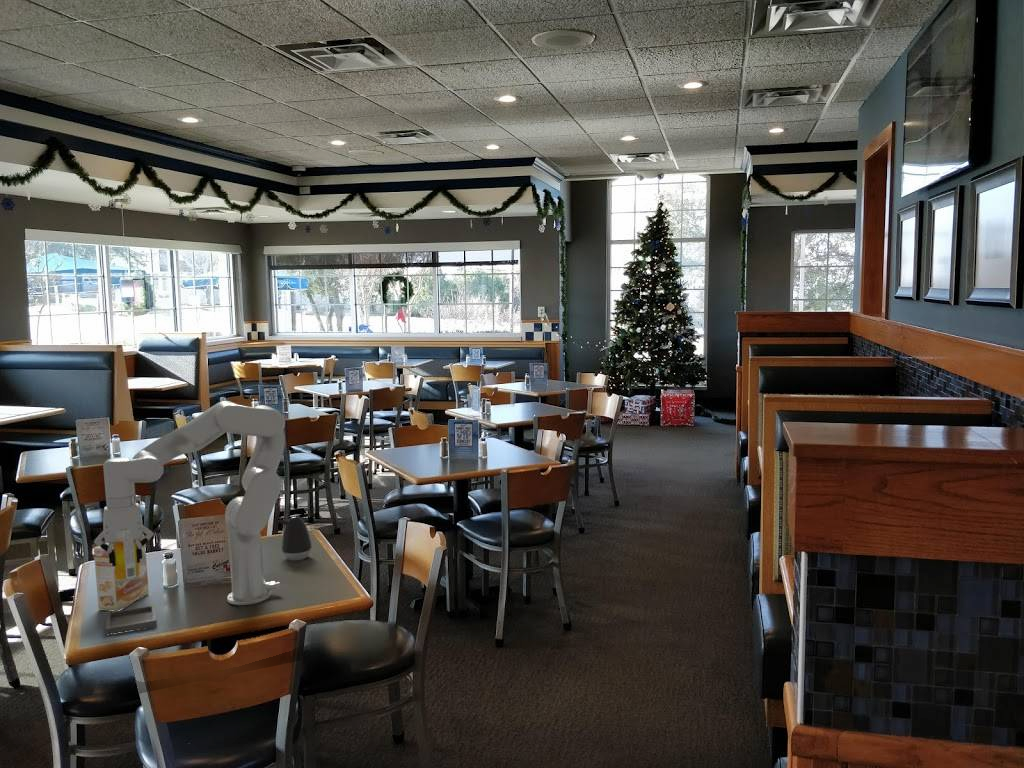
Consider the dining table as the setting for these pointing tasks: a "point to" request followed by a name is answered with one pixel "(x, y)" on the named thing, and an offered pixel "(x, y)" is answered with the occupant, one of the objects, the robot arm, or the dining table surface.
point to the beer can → (125, 556)
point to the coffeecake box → (118, 582)
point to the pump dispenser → (295, 539)
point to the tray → (131, 619)
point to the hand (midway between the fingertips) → (126, 562)
